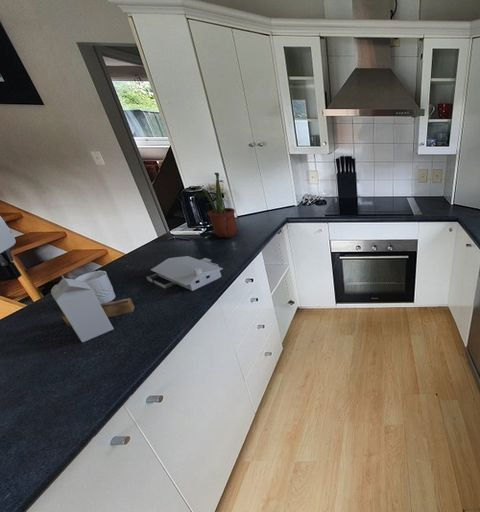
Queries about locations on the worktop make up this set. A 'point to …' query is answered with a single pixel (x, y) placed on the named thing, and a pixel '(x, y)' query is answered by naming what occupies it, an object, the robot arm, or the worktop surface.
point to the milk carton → (81, 308)
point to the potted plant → (220, 213)
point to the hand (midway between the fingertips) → (10, 278)
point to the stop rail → (113, 308)
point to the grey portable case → (187, 272)
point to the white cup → (99, 285)
